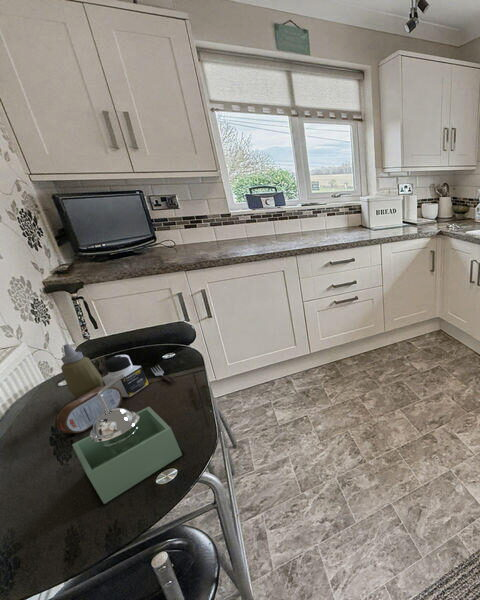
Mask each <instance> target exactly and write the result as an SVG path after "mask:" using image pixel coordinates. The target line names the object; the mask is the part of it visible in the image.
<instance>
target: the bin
mask: <svg viewBox="0 0 480 600" xmlns="http://www.w3.org/2000/svg"><path fill="white" fill-rule="evenodd" d="M136 413H137V415H139V421H138V422H137V425H138V426H137V427H138V433H139V436H140V440H141V443H140V444H138V445H136V446H134V447H132V448H131V449H129V450H127V451H125V452H123V453H122V454H120V455H118V456H116V457H114V458H113V457H112V456H111V455H110V454H109V452H108V451H107V450H106V448H105V447H103V446H102V445H101V444H100V443H99V442H94V441H92V440H91V439H90V435H88V436H86V437H84V438H81V439H80V440H78V441H76V442H74V443H72V444H71V446H72V448H73V450H74V452H75V454H76V456H77V458H78V460H79V462H80V464H81V467H82V468H83V470H84V472H85V474H86V476H87V478H88V480H89V481H90V483H91V485H92V487H93V488H94V490H95V491H96V494H97V495H98V497H99V498H100V500H101V502H102V503H103V505H105V504H107V503H109V502H110V501H112V500H113V499H115V498H117V497H119V496H120V495H121V494H123V493H125V492H126V491H128V490H129V489H131V488H133V487H134V486H135V485H137V484H139V483H141V482H142V481H143V480H146V479H147V478H148V477H150V476H151V475H153V474H155V473H157V472H158V471H160V470H161V469H163V468H164V467H166V466H167V465H169V464H170V463H172V462H173V461H175V460H177V459H179V458H180V457H181V456H183V453H182V451H181V449H180V446H179V444H178V441H177V439H176V436H175V434H174V432H173V430H172V427H171V426H170V425H168V424H167V423H166V421H164V420H163V419H162V417H160V416H159V414H157V413H156V411H154V410H153V409H152V407H150V406H147V407H145V408H143V409H141V410H139V411H137V412H136Z"/></svg>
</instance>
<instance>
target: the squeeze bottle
mask: <svg viewBox="0 0 480 600" xmlns="http://www.w3.org/2000/svg"><path fill="white" fill-rule="evenodd" d="M62 346H63V353H64V355H63V356H62V357H61V362H62V363H63V364H62V365H61V366H60V369H61V372H62V375H63V377H64V381H65V383H66V386H67V389H68V392H69V393H70V394H72V395H73V396H74V397H75V398H76V399H78V398H80V397H82V396H84V395H85V394H87V393H89V392H91V391H92V390H94V389H96V388H98V387H100V386H104V381H103V379H102V378H103V377H102V375H101V374H100V372H99V370H98V369H97V368H96V367H95V365H94V364H93V361H91V359H90V357H87V356H84V355H83V353H82V351H76V350H75V349H74V348H73V347H72V345H70V344H69V343H66V344H63V345H62Z"/></svg>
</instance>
